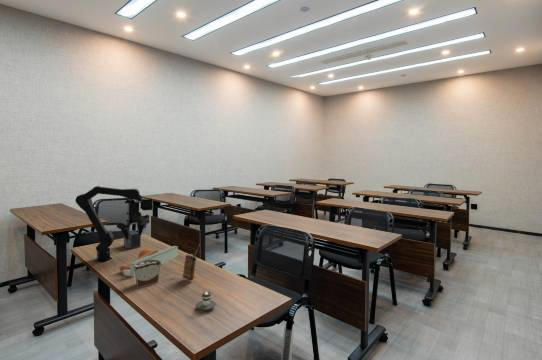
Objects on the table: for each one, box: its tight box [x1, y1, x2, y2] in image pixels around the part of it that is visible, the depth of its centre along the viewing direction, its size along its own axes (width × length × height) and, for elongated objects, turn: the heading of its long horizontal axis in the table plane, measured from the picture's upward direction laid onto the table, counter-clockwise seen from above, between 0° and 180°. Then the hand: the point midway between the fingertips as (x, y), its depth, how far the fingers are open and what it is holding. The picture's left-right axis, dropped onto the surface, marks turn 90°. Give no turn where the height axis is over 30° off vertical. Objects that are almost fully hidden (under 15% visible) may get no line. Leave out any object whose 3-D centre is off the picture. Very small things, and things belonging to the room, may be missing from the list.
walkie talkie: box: [165, 244, 201, 281], centre depth 138 cm, size 13×13×18 cm
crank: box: [119, 248, 160, 274], centre depth 153 cm, size 20×8×8 cm, turn 154°
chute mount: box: [123, 245, 179, 278], centre depth 156 cm, size 7×32×7 cm, turn 159°
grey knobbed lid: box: [195, 291, 217, 311], centre depth 115 cm, size 12×12×5 cm
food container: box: [133, 259, 162, 289], centre depth 133 cm, size 12×6×10 cm, turn 134°
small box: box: [123, 230, 142, 250], centre depth 185 cm, size 11×6×10 cm, turn 52°
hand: (133, 237), depth 167 cm, fingers open, 9 cm apart
